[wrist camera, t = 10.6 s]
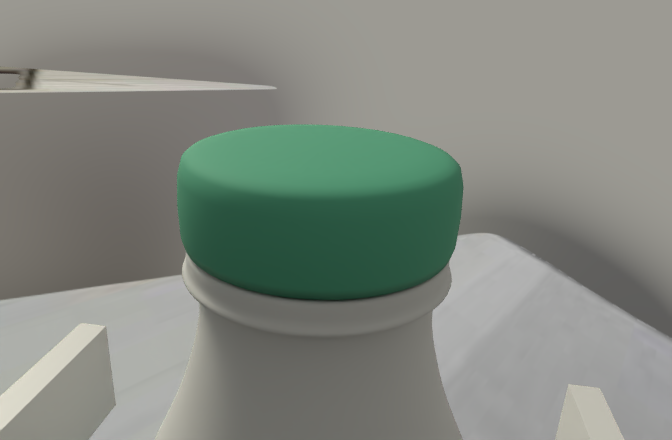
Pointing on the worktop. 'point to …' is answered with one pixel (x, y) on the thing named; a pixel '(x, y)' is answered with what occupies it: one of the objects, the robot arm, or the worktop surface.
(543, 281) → the worktop surface
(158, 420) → the worktop surface
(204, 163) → the milk bottle
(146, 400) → the worktop surface
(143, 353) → the worktop surface
